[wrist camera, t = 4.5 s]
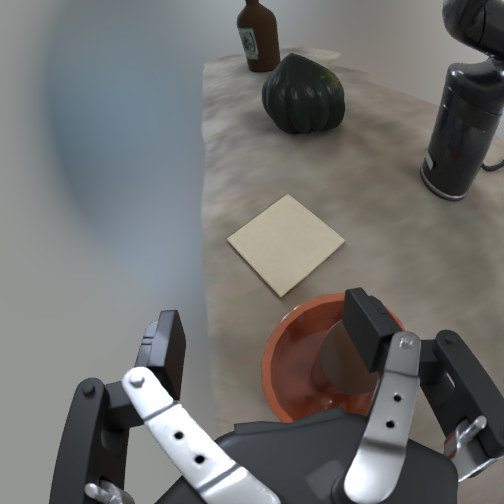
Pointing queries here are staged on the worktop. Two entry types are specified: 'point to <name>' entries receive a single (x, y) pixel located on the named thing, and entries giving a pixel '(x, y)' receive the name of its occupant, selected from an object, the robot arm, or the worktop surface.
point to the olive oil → (259, 36)
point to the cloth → (285, 244)
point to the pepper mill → (341, 365)
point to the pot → (305, 362)
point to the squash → (303, 96)
